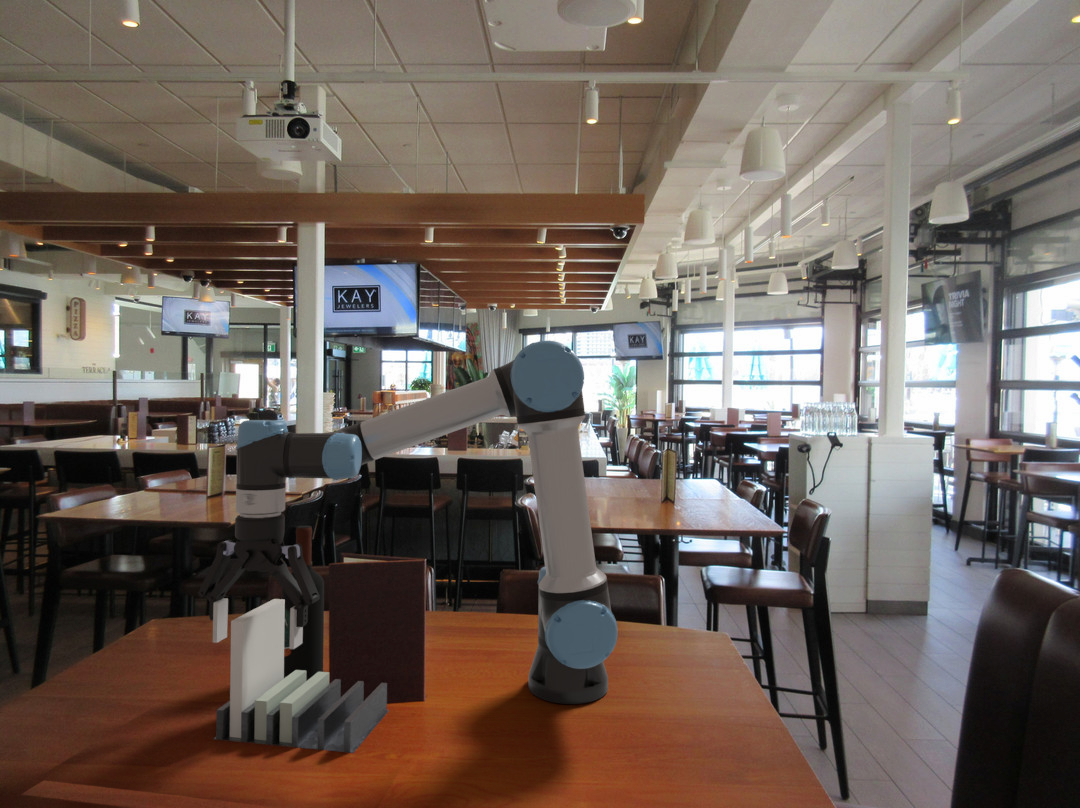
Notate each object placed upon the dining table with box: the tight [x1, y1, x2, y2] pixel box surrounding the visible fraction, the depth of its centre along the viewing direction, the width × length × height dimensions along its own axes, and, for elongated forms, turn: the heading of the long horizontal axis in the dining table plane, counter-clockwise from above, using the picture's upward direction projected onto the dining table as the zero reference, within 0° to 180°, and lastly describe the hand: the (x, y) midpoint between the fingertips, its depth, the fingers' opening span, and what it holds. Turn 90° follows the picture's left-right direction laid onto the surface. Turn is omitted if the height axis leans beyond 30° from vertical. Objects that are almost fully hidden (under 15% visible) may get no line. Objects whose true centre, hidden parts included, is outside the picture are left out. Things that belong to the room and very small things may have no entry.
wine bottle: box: [281, 525, 325, 681], centre depth 125 cm, size 8×8×30 cm
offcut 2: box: [280, 671, 330, 743], centre depth 106 cm, size 2×12×6 cm, turn 171°
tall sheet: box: [229, 598, 285, 738], centre depth 107 cm, size 2×12×18 cm, turn 171°
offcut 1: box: [254, 670, 307, 740], centre depth 107 cm, size 2×12×6 cm, turn 171°
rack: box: [213, 678, 390, 754], centre depth 106 cm, size 23×14×6 cm, turn 81°
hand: (257, 643), depth 107 cm, fingers open, 13 cm apart
